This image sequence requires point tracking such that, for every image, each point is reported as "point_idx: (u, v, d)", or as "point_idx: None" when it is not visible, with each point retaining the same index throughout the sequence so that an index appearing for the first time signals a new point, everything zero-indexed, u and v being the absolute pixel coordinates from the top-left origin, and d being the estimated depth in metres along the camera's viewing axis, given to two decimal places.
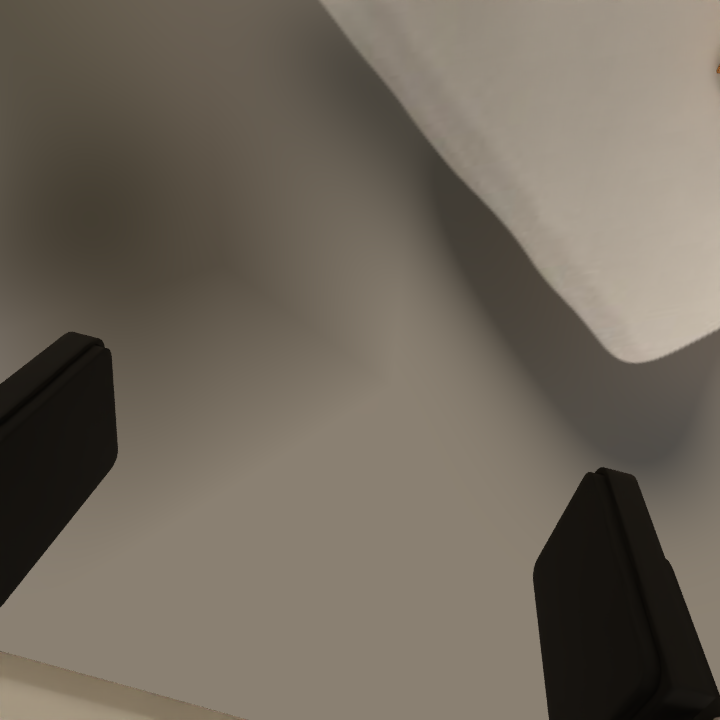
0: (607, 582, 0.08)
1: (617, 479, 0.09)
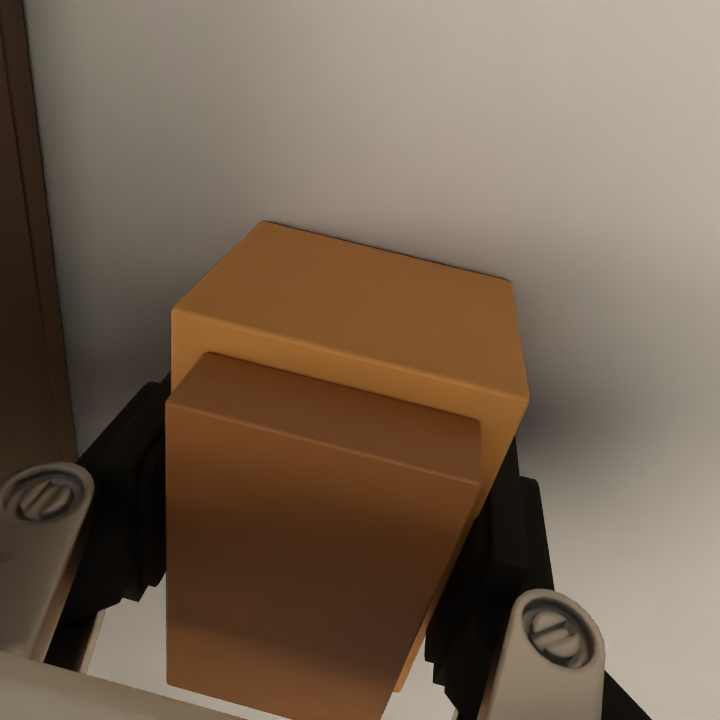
0: None
1: None
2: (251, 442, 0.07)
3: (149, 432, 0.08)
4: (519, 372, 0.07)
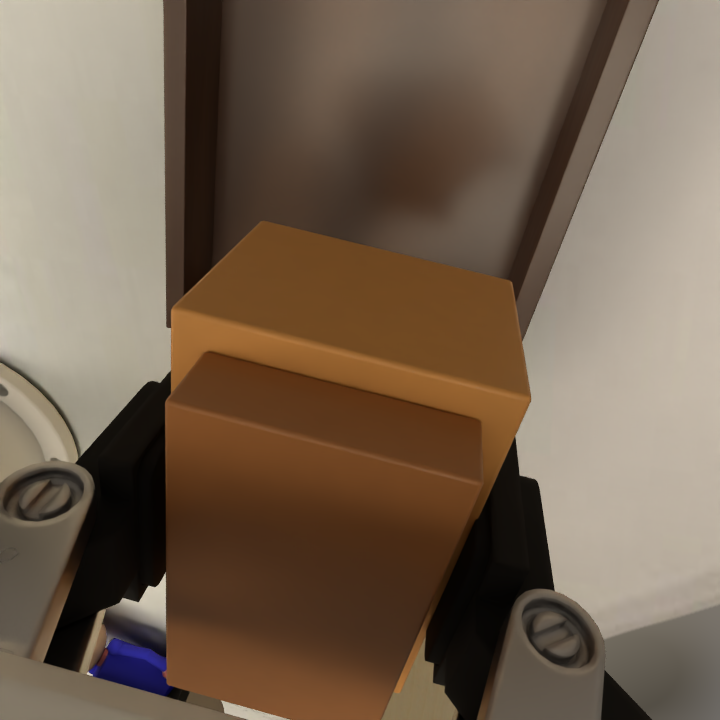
0: None
1: None
2: (251, 442, 0.07)
3: (149, 432, 0.08)
4: (520, 372, 0.07)
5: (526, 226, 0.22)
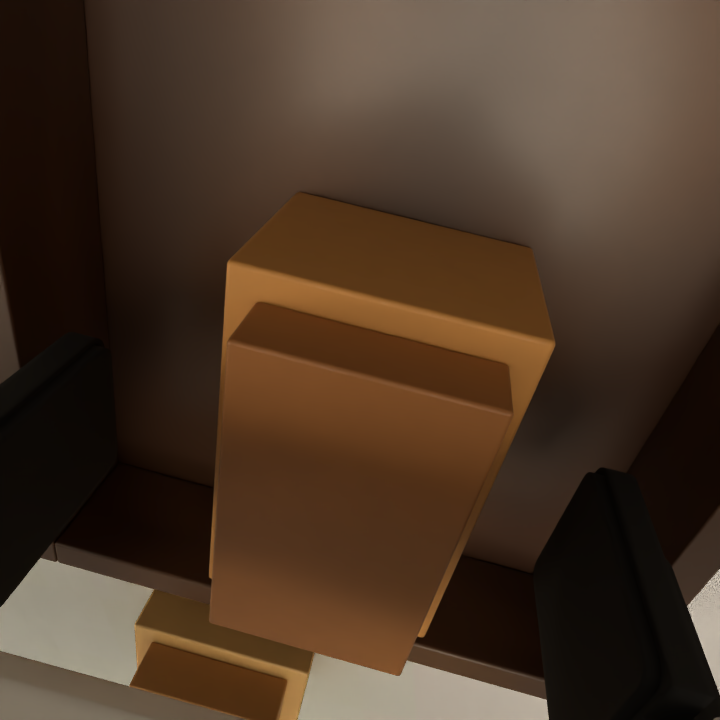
0: (607, 582, 0.08)
1: (617, 479, 0.09)
2: (304, 378, 0.07)
3: None
4: (544, 322, 0.08)
5: (664, 412, 0.12)
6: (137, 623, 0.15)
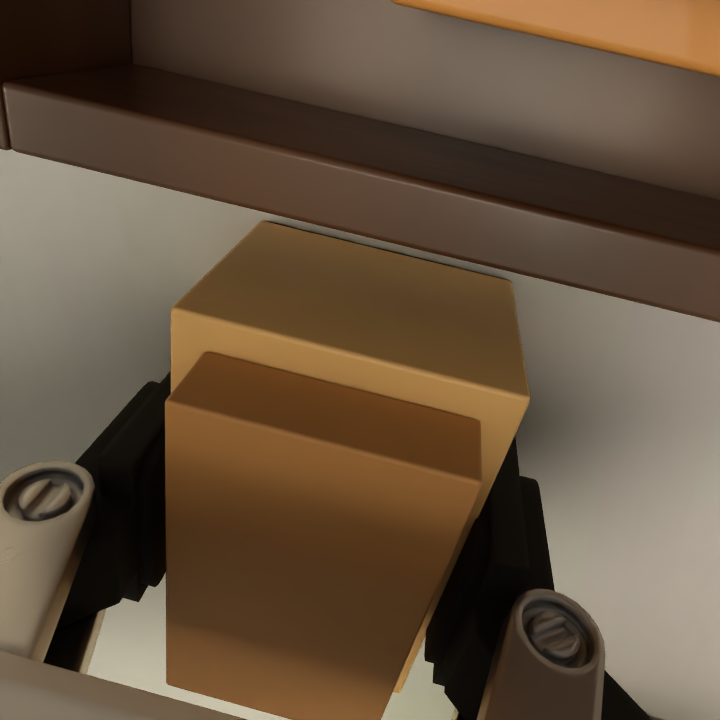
0: None
1: None
2: None
3: (149, 432, 0.08)
4: None
5: None
6: (176, 307, 0.07)
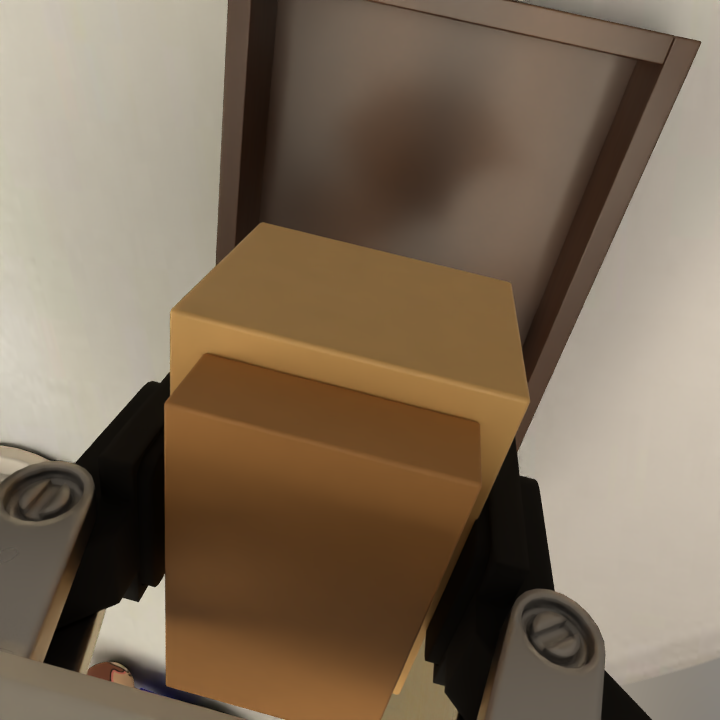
0: None
1: None
2: None
3: (149, 432, 0.08)
4: None
5: None
6: (176, 309, 0.07)
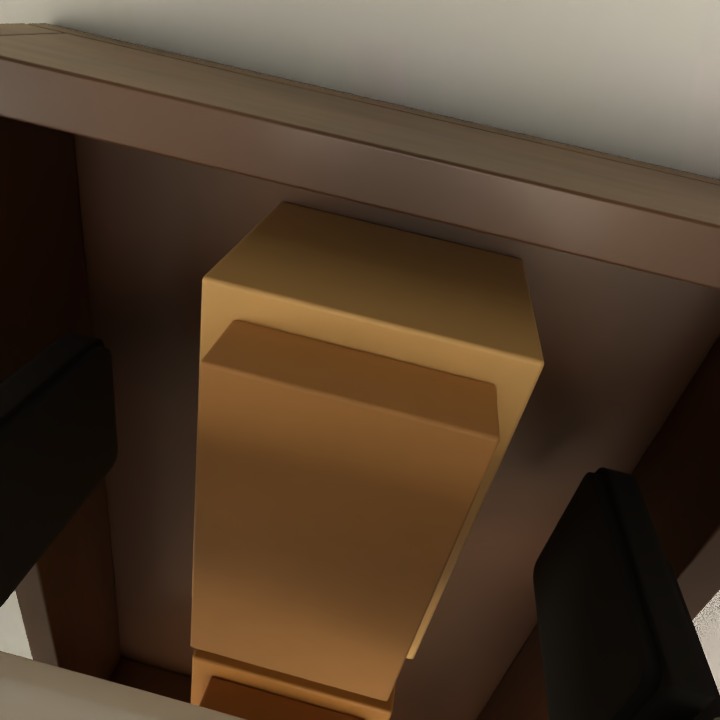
0: (607, 582, 0.08)
1: (617, 479, 0.09)
2: None
3: None
4: None
5: (510, 665, 0.17)
6: (207, 277, 0.08)
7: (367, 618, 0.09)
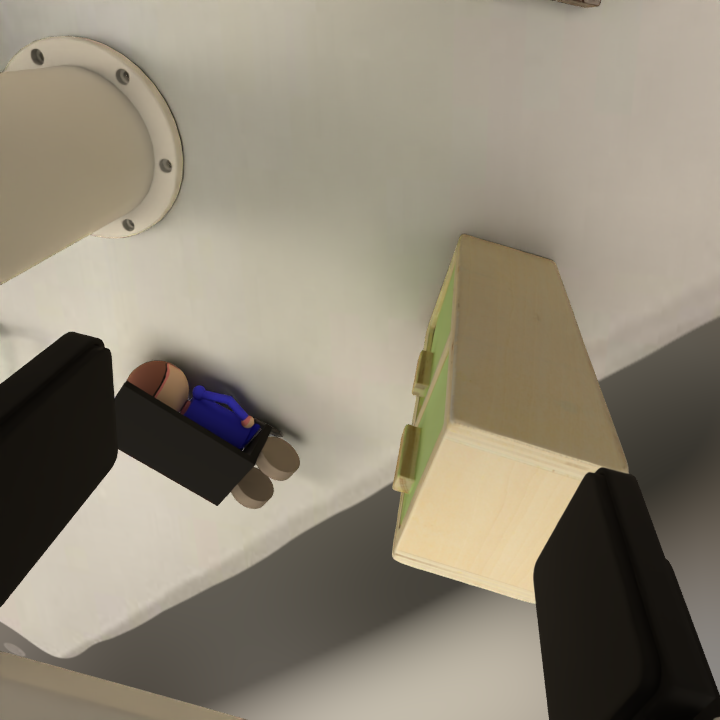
0: (607, 582, 0.08)
1: (617, 479, 0.09)
2: None
3: None
4: None
5: None
6: None
7: None
